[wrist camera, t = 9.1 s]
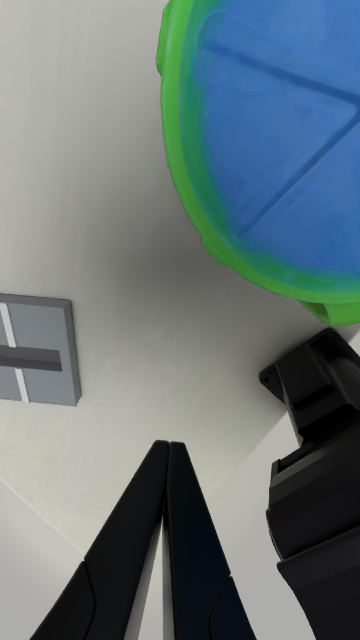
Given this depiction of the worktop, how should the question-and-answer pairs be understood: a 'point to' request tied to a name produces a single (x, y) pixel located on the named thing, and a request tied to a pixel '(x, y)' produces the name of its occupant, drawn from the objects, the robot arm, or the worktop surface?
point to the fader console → (37, 351)
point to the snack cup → (269, 141)
